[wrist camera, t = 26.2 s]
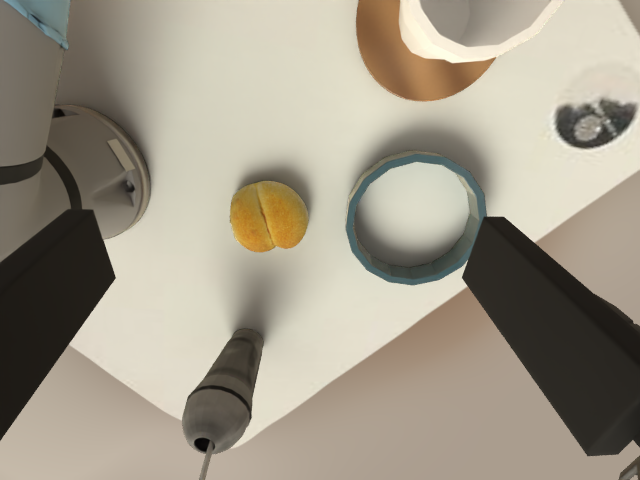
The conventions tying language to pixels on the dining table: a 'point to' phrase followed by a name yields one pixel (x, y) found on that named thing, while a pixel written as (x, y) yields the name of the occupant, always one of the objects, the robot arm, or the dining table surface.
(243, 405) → the beverage cup
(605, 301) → the robot arm
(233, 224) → the bread roll
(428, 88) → the wooden coaster
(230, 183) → the dining table surface
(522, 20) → the foam cup
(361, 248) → the ring
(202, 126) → the dining table surface
